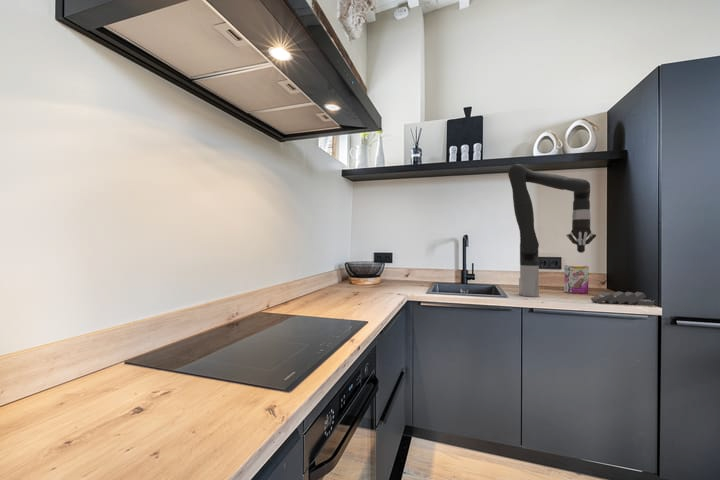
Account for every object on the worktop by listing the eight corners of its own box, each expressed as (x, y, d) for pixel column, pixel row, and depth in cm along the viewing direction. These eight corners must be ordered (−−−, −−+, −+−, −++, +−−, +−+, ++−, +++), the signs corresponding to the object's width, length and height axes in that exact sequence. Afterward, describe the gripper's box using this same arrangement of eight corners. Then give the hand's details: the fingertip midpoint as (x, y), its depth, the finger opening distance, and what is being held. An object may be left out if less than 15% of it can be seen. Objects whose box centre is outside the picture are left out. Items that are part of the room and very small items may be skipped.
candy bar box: (568, 293, 172) (568, 265, 172) (563, 292, 177) (563, 265, 177) (589, 293, 171) (588, 265, 171) (583, 292, 176) (583, 265, 176)
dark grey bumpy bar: (617, 300, 142) (633, 293, 141) (611, 299, 146) (627, 291, 145) (619, 304, 142) (636, 296, 140) (614, 302, 146) (630, 295, 145)
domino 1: (595, 299, 144) (612, 293, 143) (590, 298, 148) (606, 292, 147) (597, 303, 144) (614, 297, 142) (592, 301, 148) (608, 295, 147)
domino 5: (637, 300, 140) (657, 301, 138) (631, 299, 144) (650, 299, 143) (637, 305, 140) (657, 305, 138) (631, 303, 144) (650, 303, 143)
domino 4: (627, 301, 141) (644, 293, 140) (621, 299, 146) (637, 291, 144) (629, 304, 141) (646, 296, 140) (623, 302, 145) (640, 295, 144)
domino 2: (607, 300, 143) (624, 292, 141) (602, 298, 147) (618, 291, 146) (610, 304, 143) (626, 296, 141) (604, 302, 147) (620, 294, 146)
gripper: (592, 219, 152) (591, 252, 152) (563, 219, 156) (563, 252, 156) (600, 218, 145) (599, 253, 145) (569, 218, 148) (569, 252, 148)
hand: (580, 252), depth 150 cm, fingers closed
